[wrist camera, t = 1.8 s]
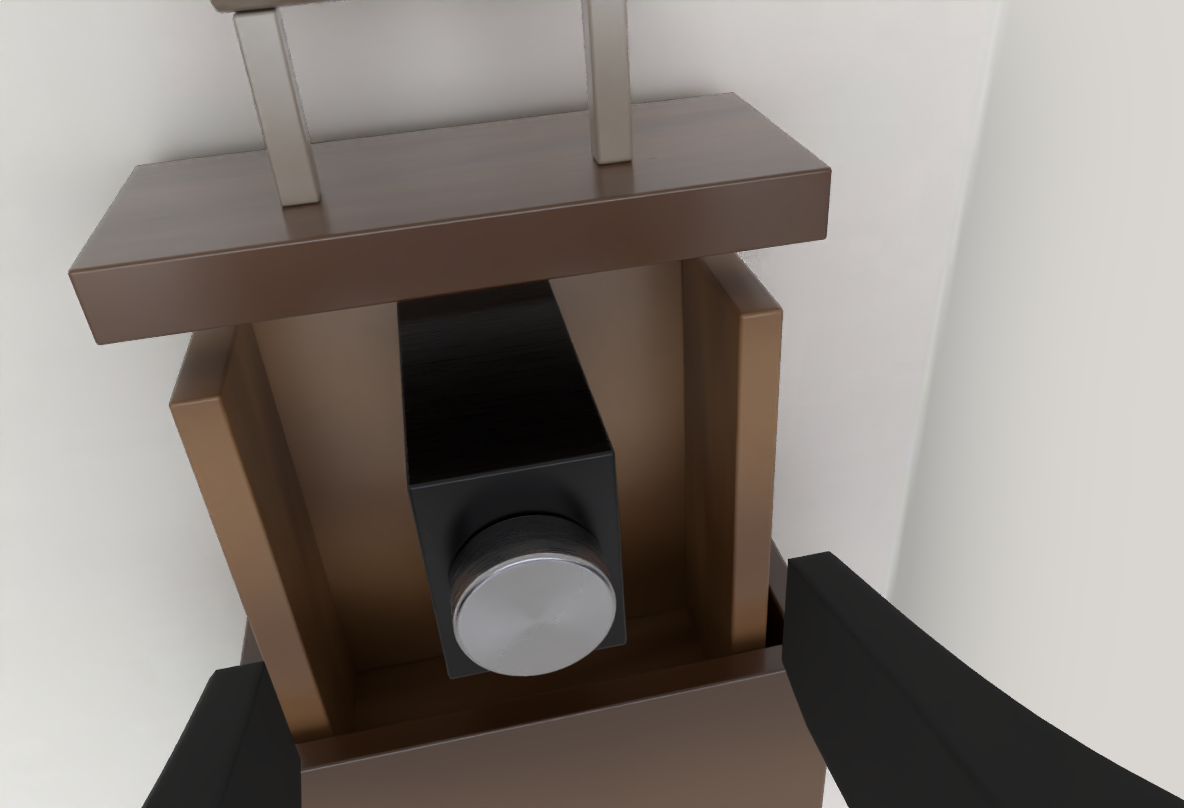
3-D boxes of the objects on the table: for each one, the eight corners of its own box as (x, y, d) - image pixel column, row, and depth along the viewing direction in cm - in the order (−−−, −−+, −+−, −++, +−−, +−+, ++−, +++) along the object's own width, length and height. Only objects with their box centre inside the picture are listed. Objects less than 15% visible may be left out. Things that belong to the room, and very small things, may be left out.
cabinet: (254, 562, 23) (220, 788, 18) (738, 475, 25) (840, 658, 19) (368, 888, 31) (368, 1111, 26) (729, 806, 32) (800, 1000, 27)
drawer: (45, -100, 15) (-73, -67, 11) (739, -160, 16) (857, -150, 12) (307, 672, 24) (295, 839, 20) (725, 591, 26) (789, 731, 22)
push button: (549, 278, 18) (632, 494, 13) (565, 444, 21) (642, 692, 15) (395, 301, 18) (409, 534, 12) (428, 467, 20) (453, 731, 14)
